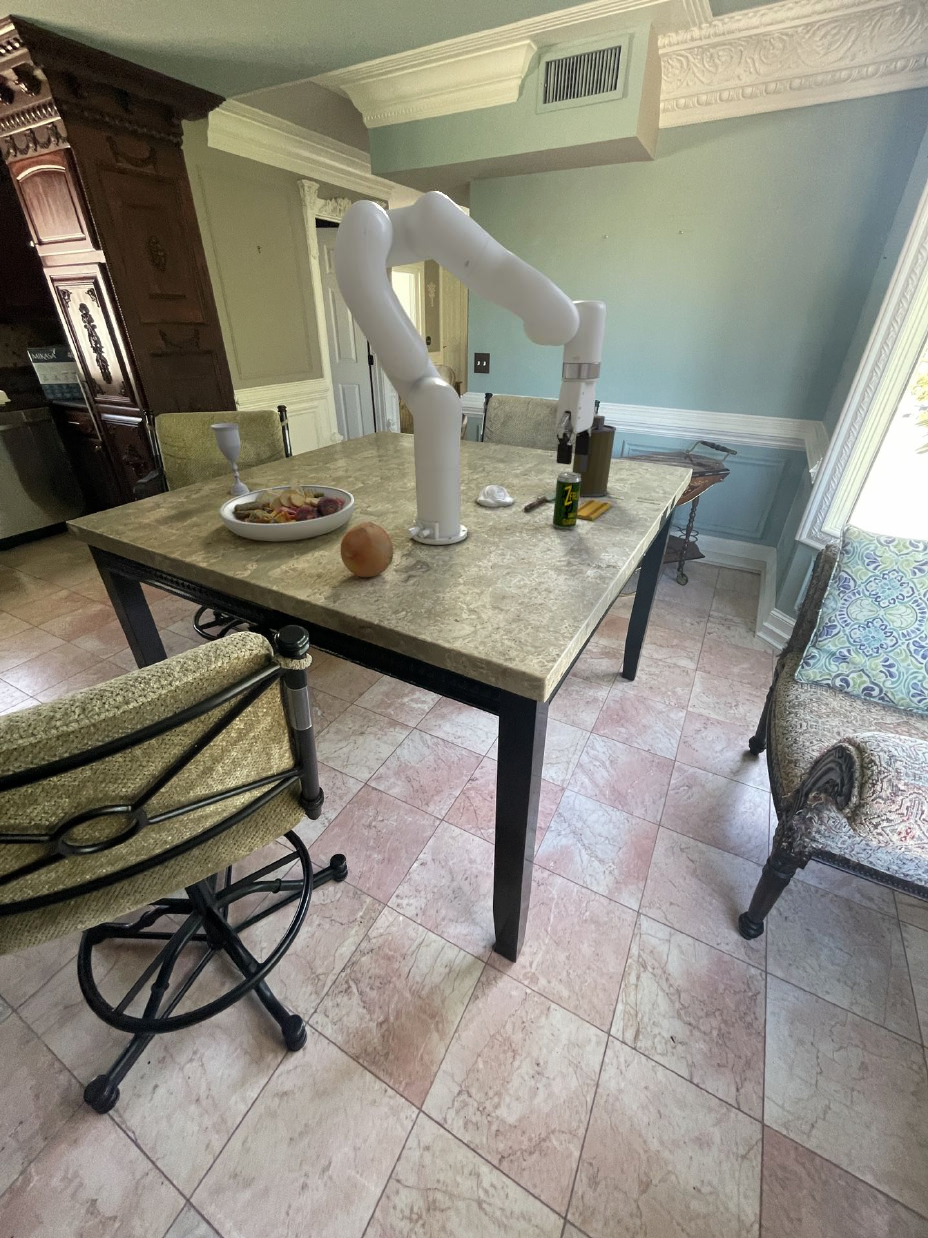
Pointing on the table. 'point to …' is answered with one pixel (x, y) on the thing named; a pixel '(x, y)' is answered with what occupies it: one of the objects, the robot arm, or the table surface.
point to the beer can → (566, 500)
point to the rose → (494, 497)
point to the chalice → (230, 450)
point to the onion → (366, 550)
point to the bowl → (288, 512)
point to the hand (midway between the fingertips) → (572, 458)
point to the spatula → (540, 500)
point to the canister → (596, 459)
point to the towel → (592, 509)
